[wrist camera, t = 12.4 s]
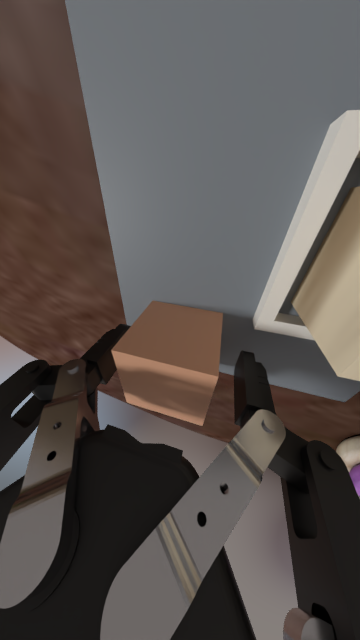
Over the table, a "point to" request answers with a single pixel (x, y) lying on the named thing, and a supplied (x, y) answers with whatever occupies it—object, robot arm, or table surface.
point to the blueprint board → (225, 159)
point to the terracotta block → (171, 360)
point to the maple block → (336, 291)
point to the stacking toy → (351, 459)
